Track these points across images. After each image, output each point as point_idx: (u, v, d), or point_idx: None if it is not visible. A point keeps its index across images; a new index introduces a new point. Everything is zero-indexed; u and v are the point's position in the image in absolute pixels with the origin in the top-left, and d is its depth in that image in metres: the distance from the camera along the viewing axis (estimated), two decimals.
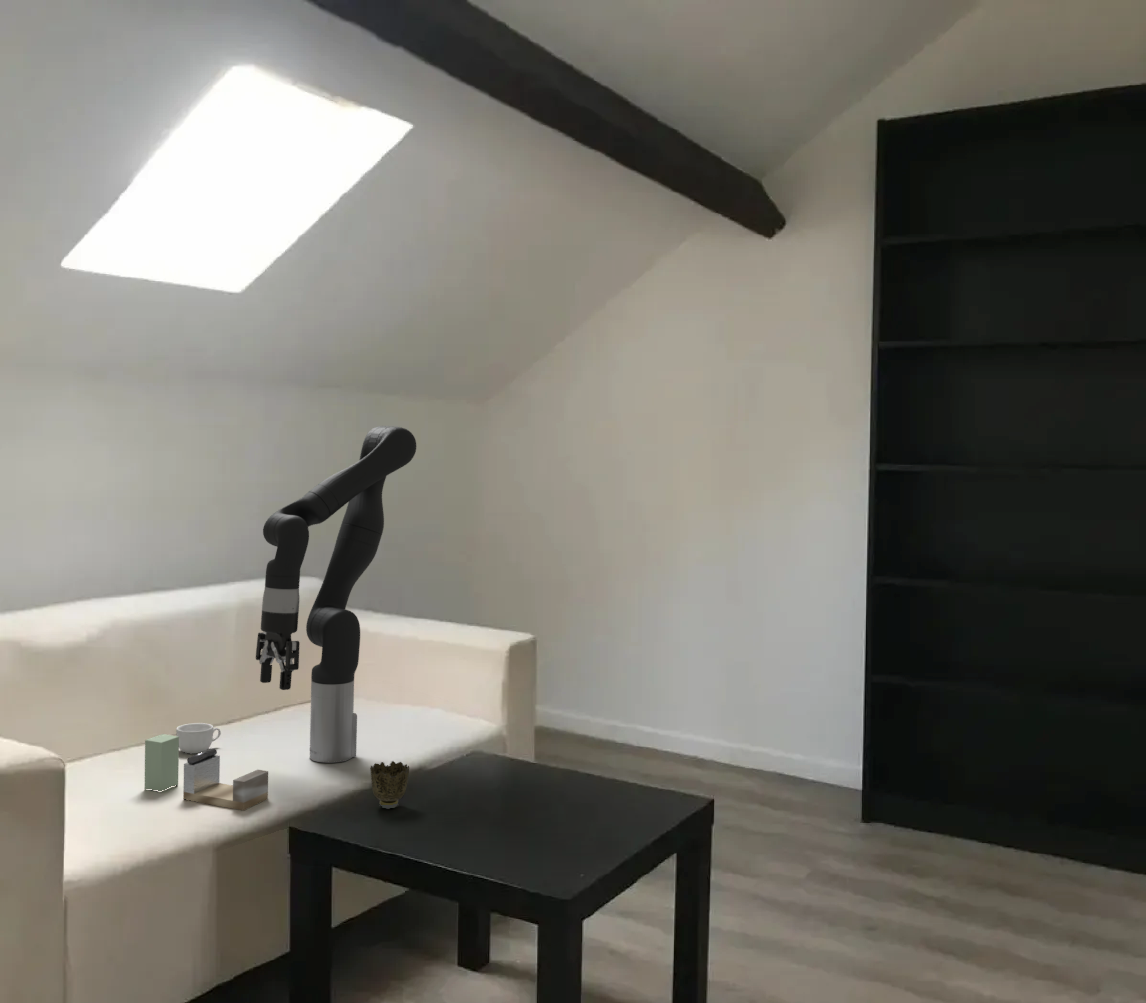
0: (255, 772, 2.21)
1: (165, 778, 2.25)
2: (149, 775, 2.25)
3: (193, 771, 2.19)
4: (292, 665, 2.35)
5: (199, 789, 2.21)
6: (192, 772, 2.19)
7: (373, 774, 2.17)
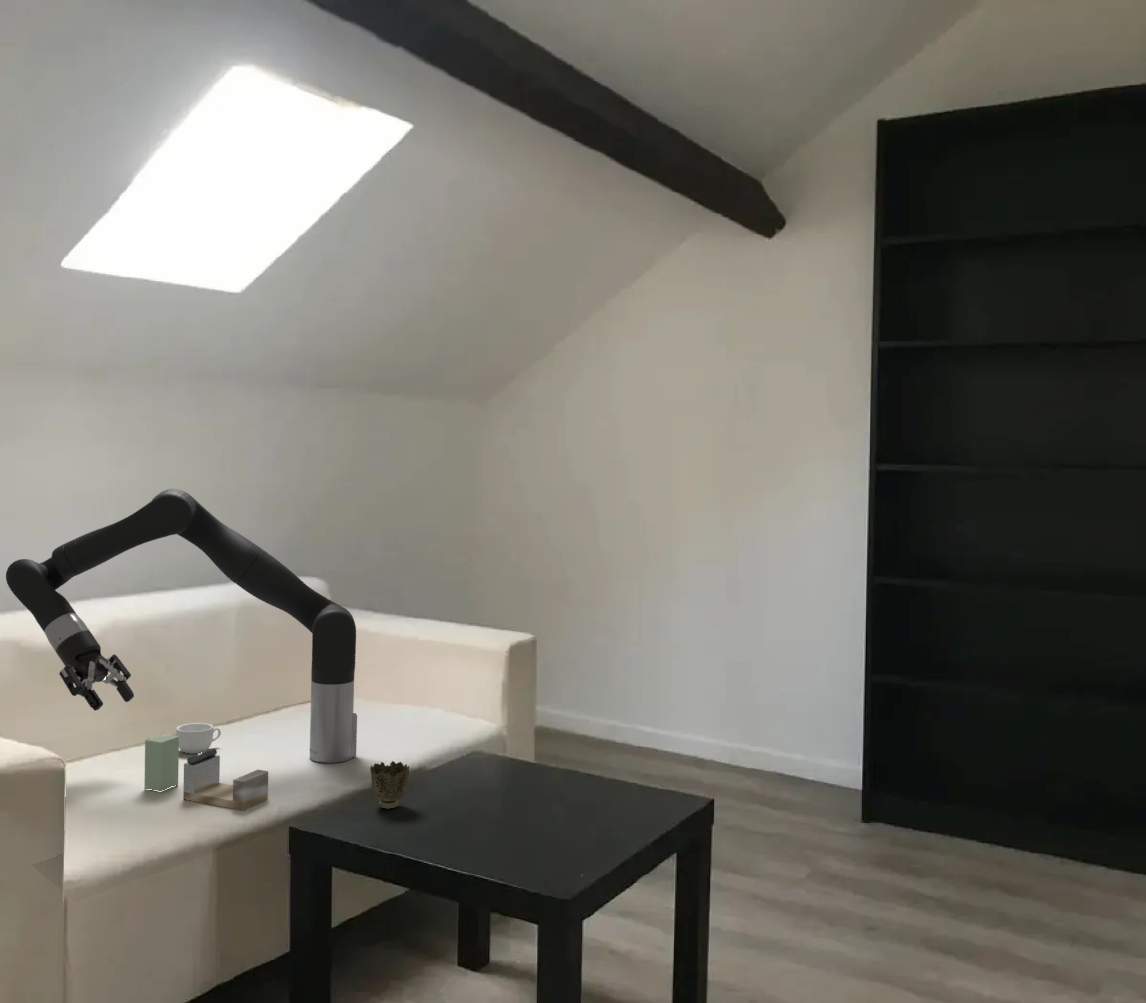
0: (255, 772, 2.21)
1: (165, 778, 2.25)
2: (149, 775, 2.25)
3: (193, 771, 2.19)
4: (74, 689, 2.24)
5: (199, 789, 2.21)
6: (192, 772, 2.19)
7: (373, 774, 2.17)
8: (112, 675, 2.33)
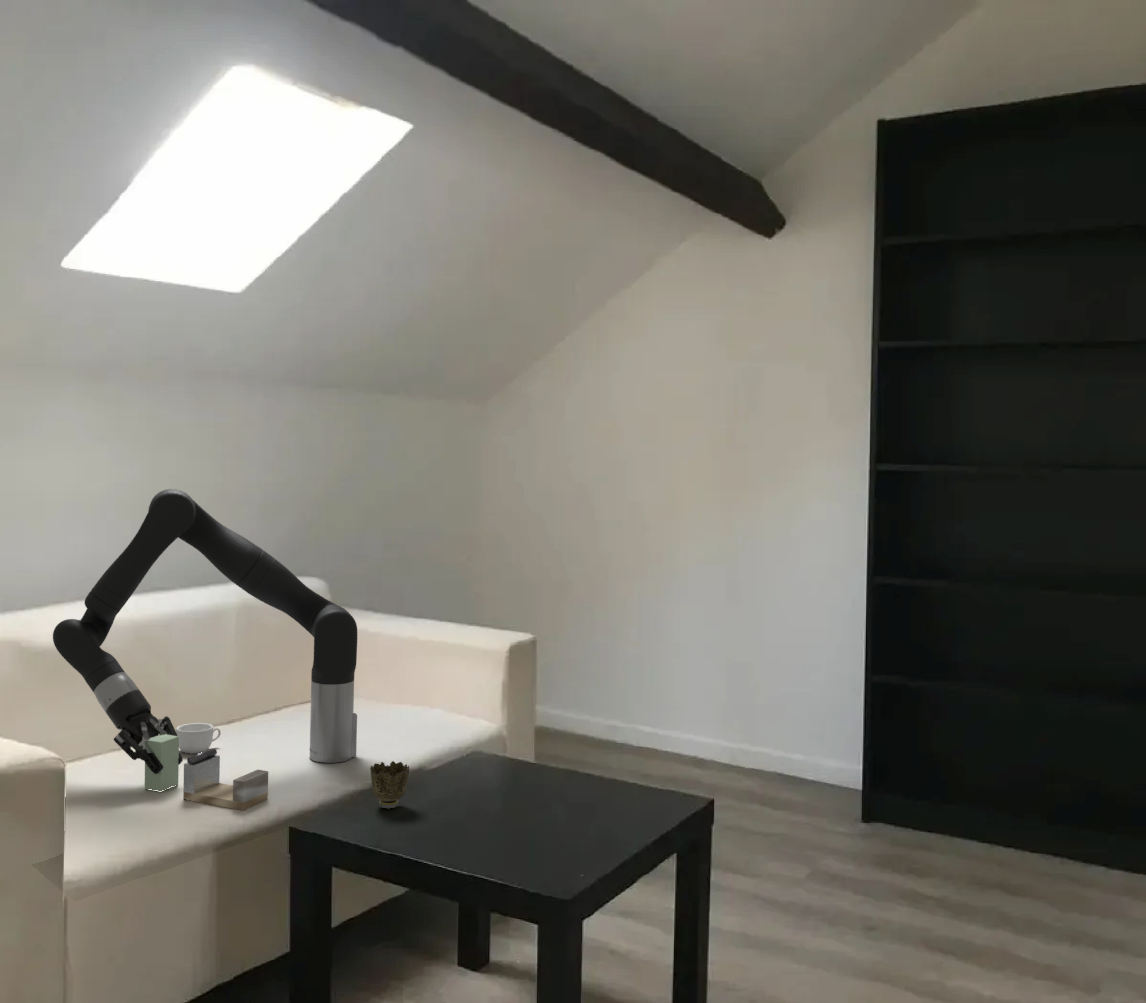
0: (255, 772, 2.21)
1: (165, 778, 2.25)
2: (149, 775, 2.25)
3: (193, 771, 2.19)
4: (134, 753, 2.22)
5: (199, 789, 2.21)
6: (192, 772, 2.19)
7: (373, 774, 2.17)
8: None
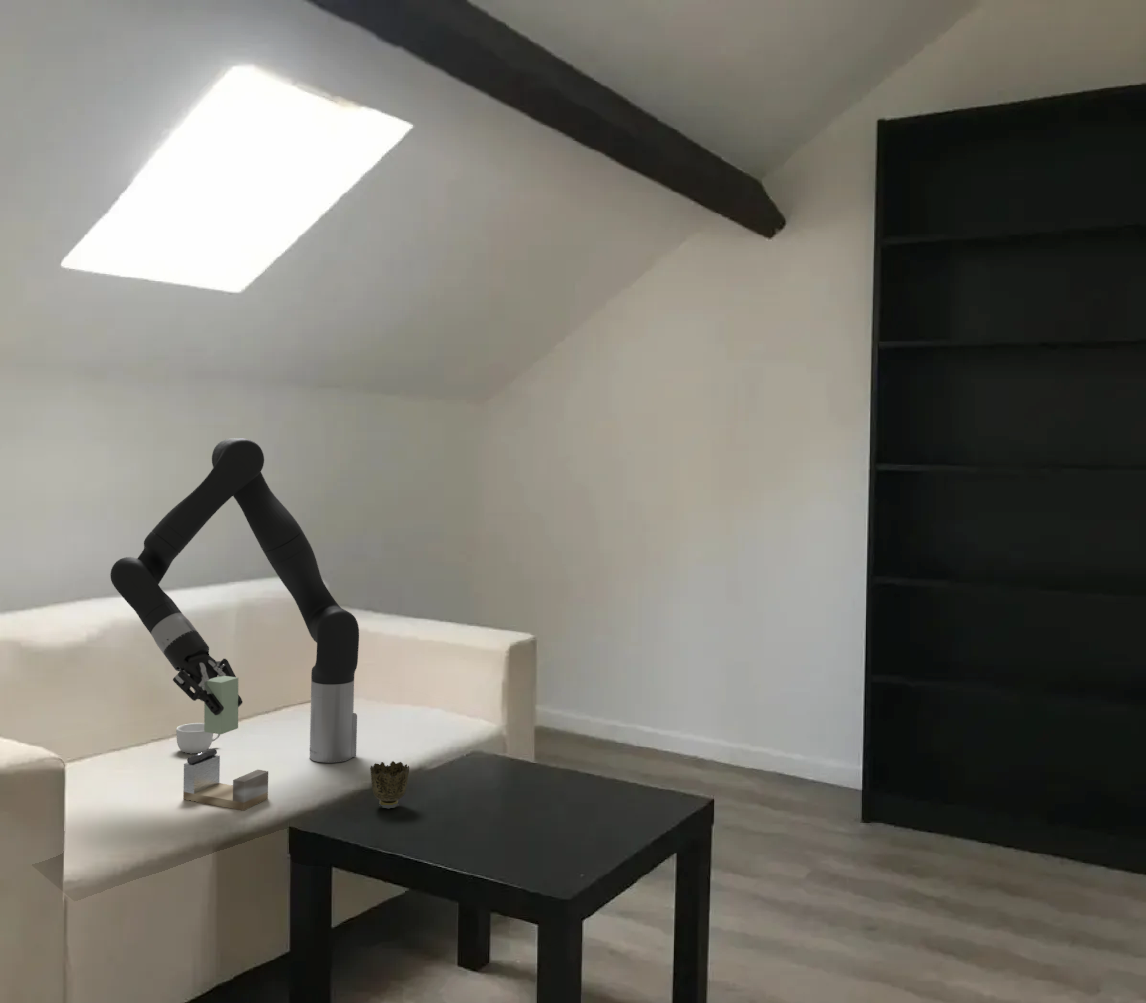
0: (255, 772, 2.21)
1: (225, 720, 2.19)
2: (209, 716, 2.19)
3: (193, 771, 2.19)
4: (194, 694, 2.16)
5: (199, 789, 2.21)
6: (192, 772, 2.19)
7: (373, 774, 2.17)
8: None
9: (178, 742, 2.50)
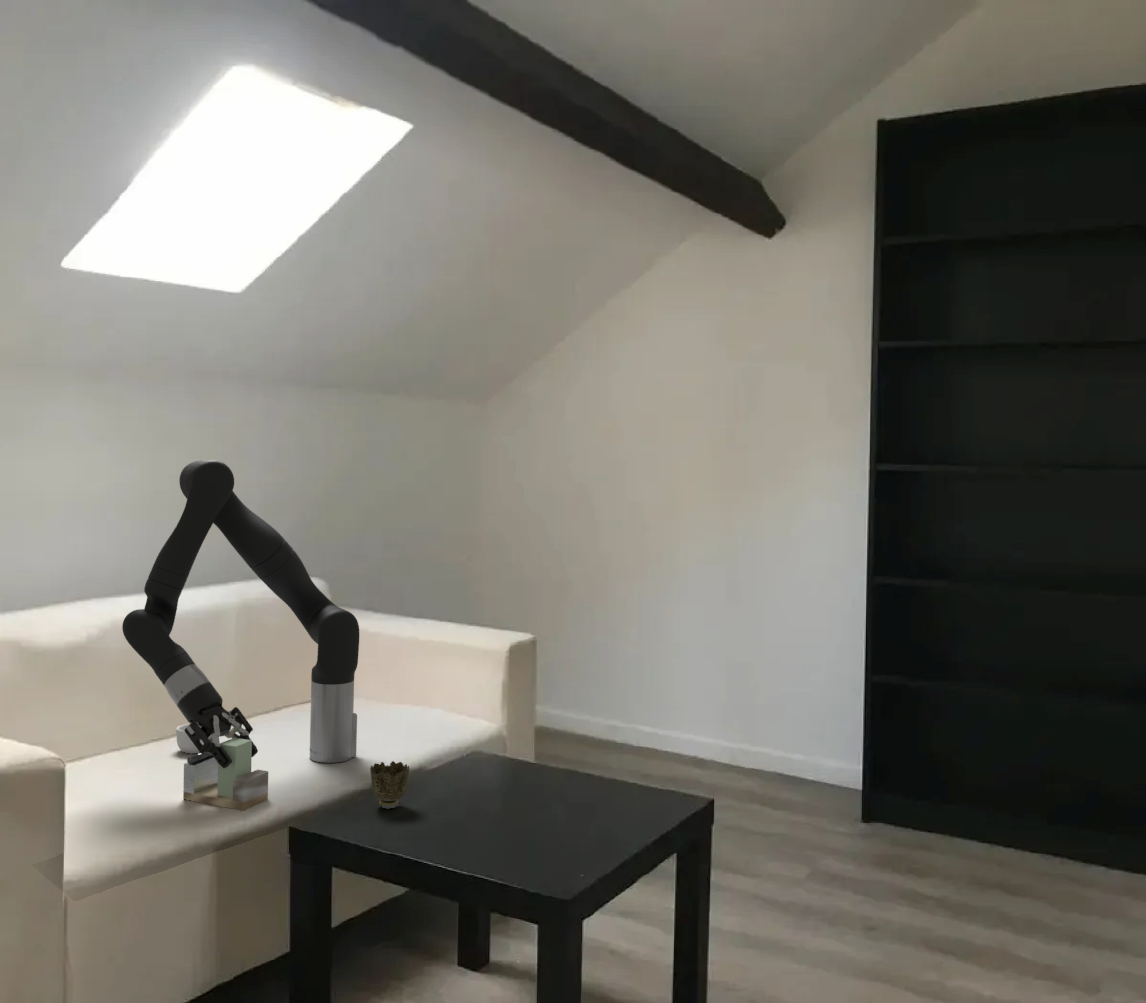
0: (255, 772, 2.21)
1: None
2: (222, 780, 2.18)
3: (193, 771, 2.19)
4: (202, 746, 2.14)
5: (199, 789, 2.21)
6: (192, 772, 2.19)
7: (373, 774, 2.17)
8: (235, 729, 2.23)
9: (178, 742, 2.50)
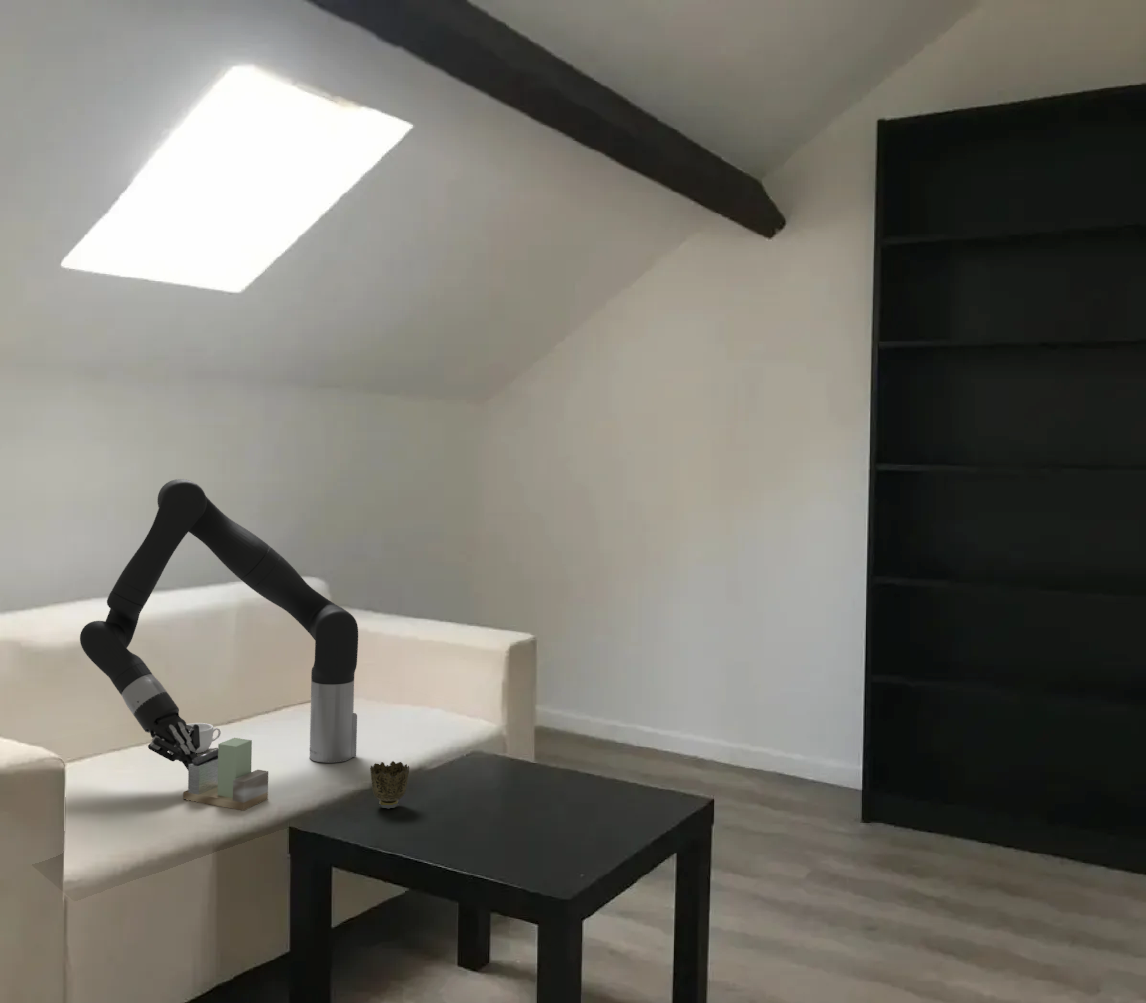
0: (255, 772, 2.21)
1: None
2: (222, 780, 2.18)
3: (197, 772, 2.19)
4: (173, 756, 2.21)
5: (204, 790, 2.20)
6: (196, 773, 2.19)
7: (373, 774, 2.17)
8: (184, 742, 2.25)
9: None
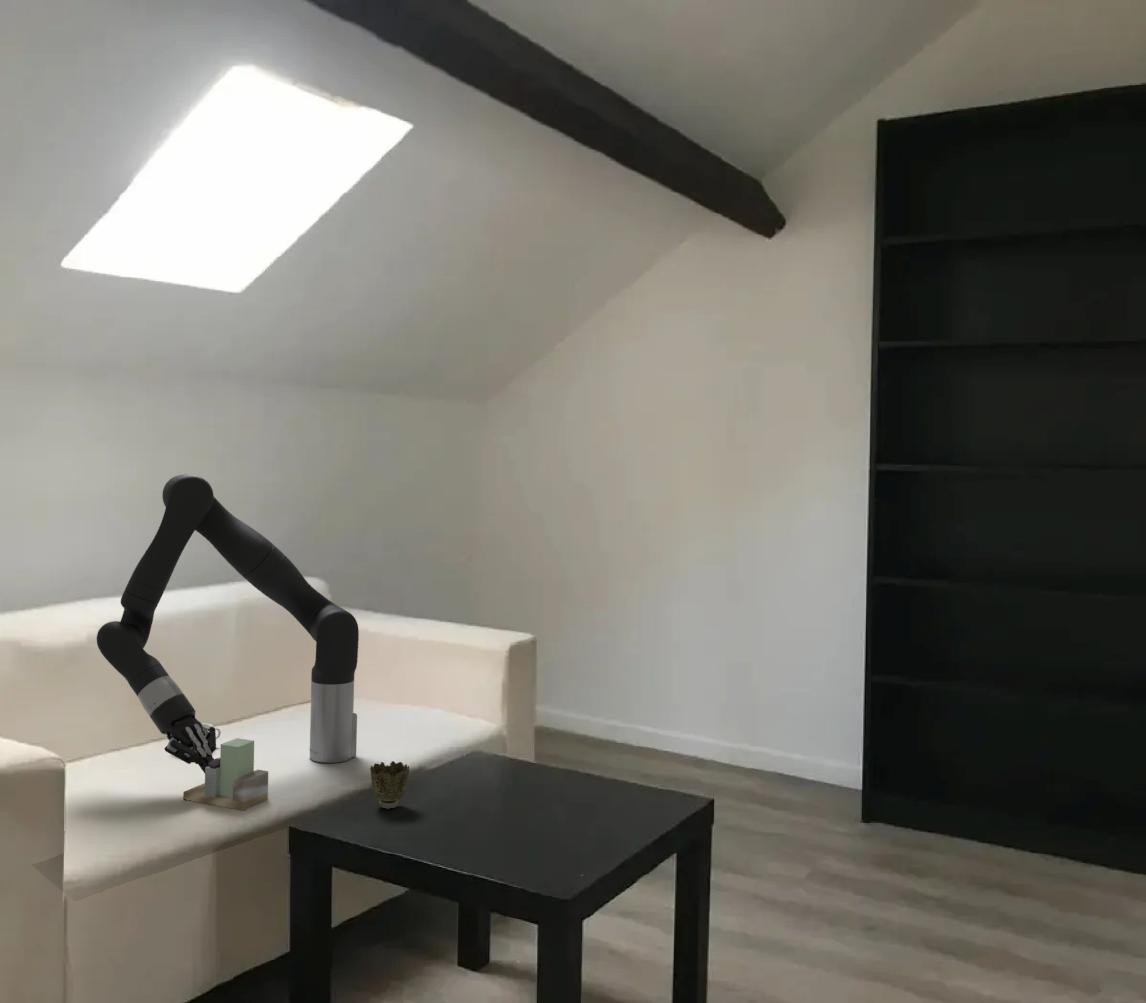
0: (255, 772, 2.21)
1: None
2: (225, 780, 2.18)
3: (214, 775, 2.17)
4: (189, 758, 2.20)
5: None
6: (213, 775, 2.17)
7: (373, 774, 2.17)
8: None
9: None
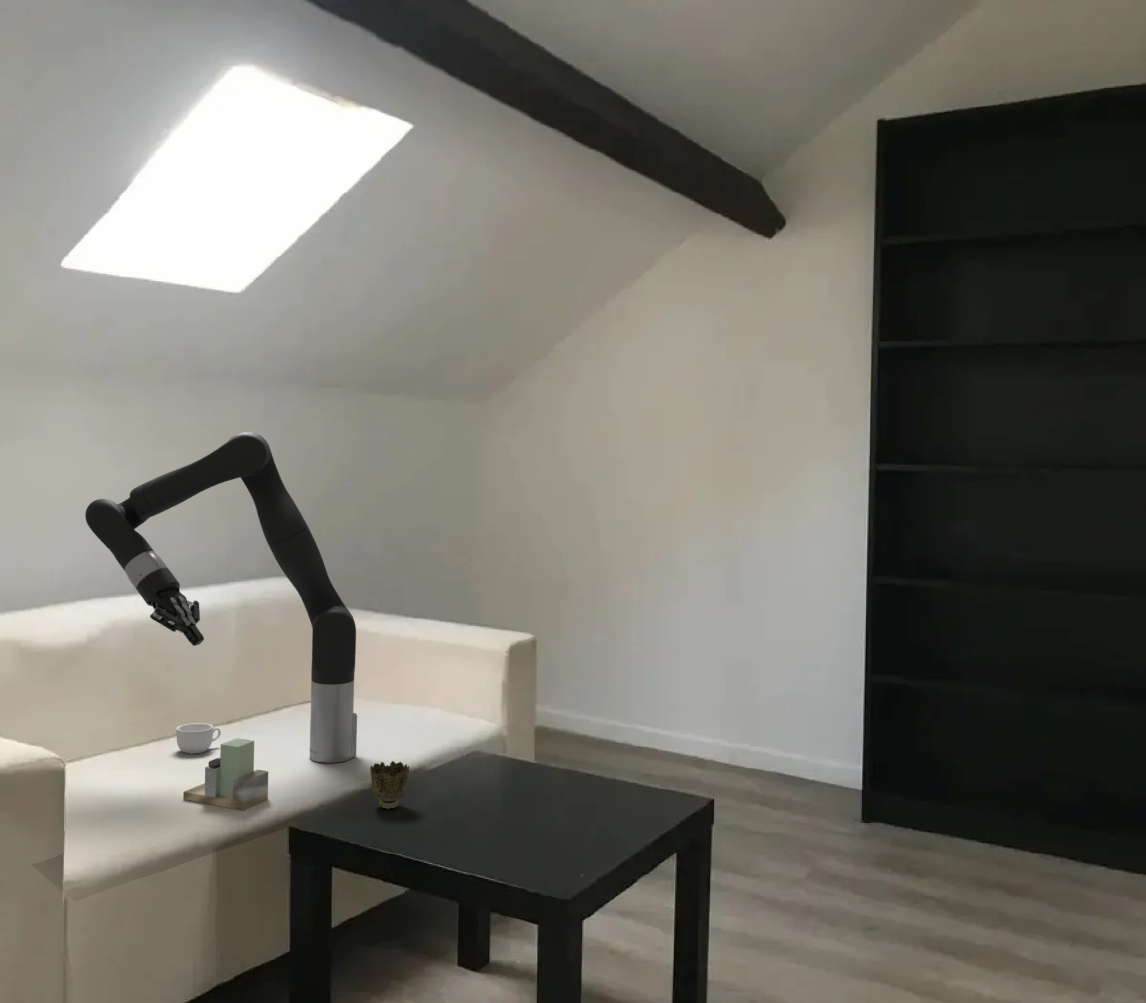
0: (255, 772, 2.21)
1: None
2: (225, 780, 2.18)
3: (214, 775, 2.17)
4: (174, 626, 2.30)
5: None
6: (213, 775, 2.17)
7: (373, 774, 2.17)
8: None
9: (178, 742, 2.50)
